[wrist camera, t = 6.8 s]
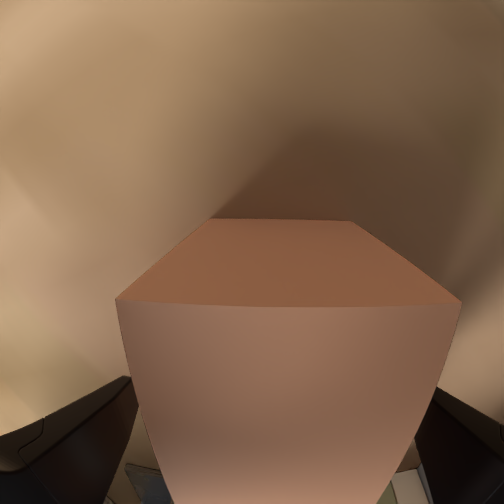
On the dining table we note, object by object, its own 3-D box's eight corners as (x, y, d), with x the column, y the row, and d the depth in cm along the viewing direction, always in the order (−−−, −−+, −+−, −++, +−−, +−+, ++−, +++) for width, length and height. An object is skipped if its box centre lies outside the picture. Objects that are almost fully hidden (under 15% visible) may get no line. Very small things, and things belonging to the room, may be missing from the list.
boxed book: (350, 220, 10) (462, 302, 3) (319, 438, 12) (333, 558, 6) (207, 218, 10) (109, 298, 4) (221, 436, 12) (198, 556, 6)
